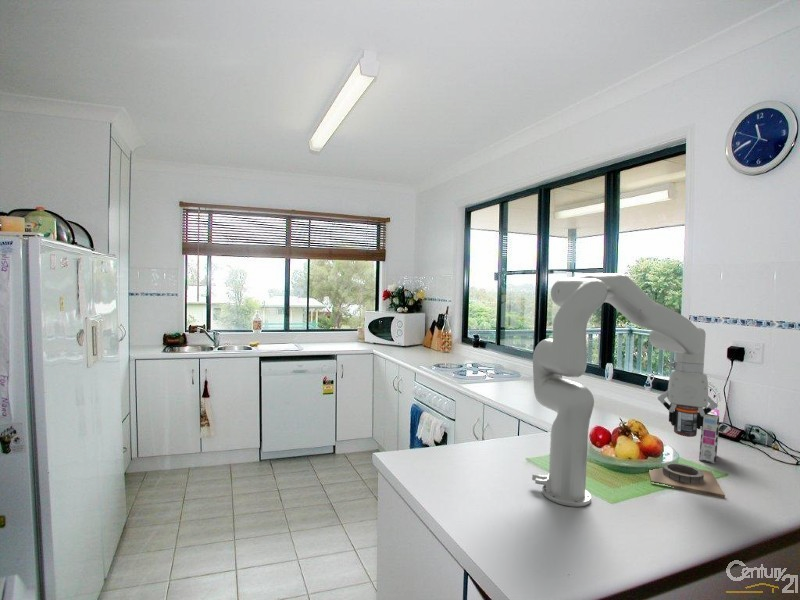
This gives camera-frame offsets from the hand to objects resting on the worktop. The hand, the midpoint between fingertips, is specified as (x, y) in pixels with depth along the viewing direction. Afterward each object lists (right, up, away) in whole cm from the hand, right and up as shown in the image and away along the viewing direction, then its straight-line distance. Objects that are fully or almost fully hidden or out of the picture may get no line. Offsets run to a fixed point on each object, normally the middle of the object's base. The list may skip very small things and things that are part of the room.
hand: (685, 425), depth 135 cm
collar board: (-1, -17, +1) cm, 17 cm away
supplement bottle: (0, -3, 0) cm, 3 cm away
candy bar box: (+20, -17, +19) cm, 33 cm away
